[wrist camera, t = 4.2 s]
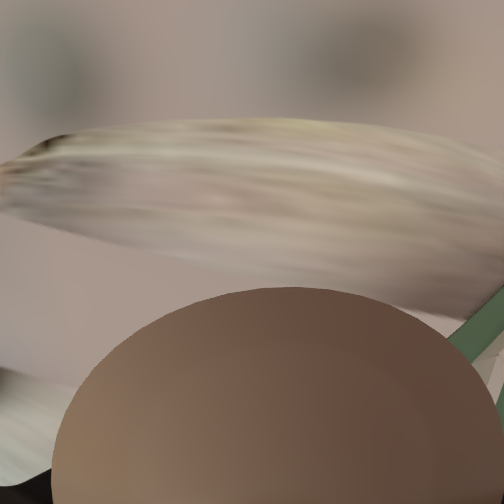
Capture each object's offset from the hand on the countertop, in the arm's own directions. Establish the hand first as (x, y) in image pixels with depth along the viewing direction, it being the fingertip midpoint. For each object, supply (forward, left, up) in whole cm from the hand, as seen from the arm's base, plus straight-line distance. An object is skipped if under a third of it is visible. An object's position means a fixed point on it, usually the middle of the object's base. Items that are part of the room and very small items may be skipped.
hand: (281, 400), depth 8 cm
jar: (-1, +1, -7) cm, 7 cm away
